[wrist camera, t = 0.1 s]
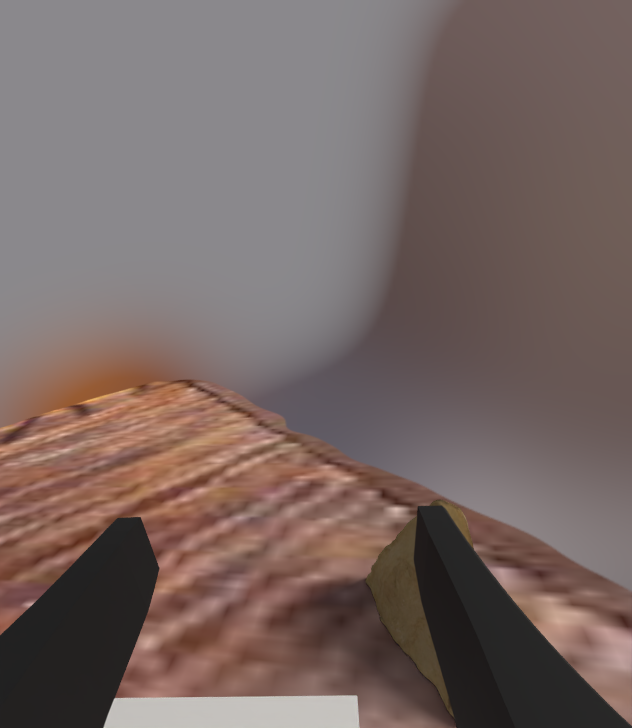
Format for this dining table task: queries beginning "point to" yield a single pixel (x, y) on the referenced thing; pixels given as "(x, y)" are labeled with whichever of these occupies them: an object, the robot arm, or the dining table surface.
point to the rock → (409, 598)
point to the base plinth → (235, 712)
